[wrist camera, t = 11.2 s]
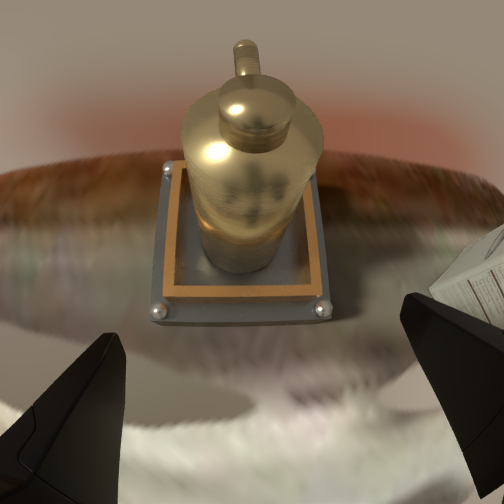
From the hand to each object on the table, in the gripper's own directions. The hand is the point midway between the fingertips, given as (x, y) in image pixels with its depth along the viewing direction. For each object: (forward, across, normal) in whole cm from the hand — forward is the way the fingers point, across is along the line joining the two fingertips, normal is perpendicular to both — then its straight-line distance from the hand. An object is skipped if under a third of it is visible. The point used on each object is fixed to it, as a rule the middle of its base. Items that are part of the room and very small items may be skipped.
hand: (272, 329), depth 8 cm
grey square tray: (+13, 0, +4) cm, 14 cm away
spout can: (+11, 0, +2) cm, 11 cm away
